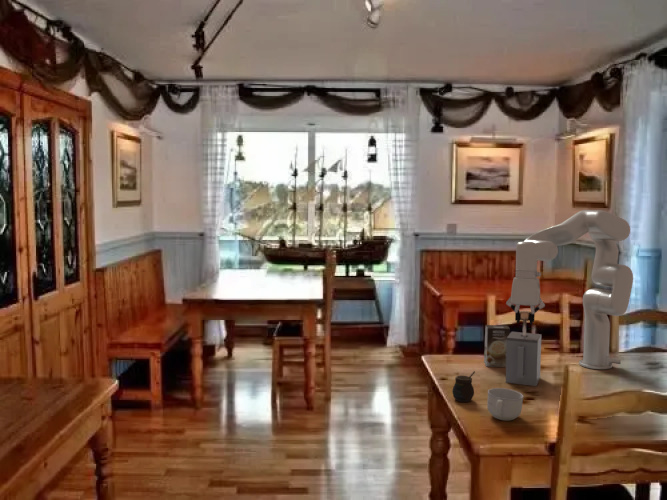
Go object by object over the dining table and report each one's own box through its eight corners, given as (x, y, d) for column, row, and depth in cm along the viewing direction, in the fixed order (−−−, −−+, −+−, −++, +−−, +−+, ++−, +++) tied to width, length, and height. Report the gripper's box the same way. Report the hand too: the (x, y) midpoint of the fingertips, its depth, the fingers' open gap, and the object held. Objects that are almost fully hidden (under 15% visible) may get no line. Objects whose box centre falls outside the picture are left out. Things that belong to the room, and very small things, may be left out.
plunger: (537, 355, 236) (539, 310, 235) (534, 361, 228) (536, 314, 227) (513, 353, 240) (514, 308, 239) (509, 358, 232) (510, 312, 230)
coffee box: (486, 366, 253) (486, 328, 252) (483, 362, 260) (484, 324, 258) (509, 367, 252) (510, 328, 251) (506, 363, 259) (507, 325, 257)
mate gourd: (447, 398, 215) (448, 369, 214) (466, 396, 217) (467, 367, 217) (459, 404, 208) (460, 375, 207) (478, 402, 211) (479, 373, 210)
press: (540, 378, 238) (541, 334, 236) (535, 388, 225) (536, 342, 223) (510, 374, 242) (511, 331, 241) (504, 384, 230) (505, 339, 228)
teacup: (496, 409, 204) (496, 385, 203) (528, 416, 197) (528, 391, 197) (476, 421, 193) (477, 395, 193) (509, 429, 187) (510, 403, 186)
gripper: (550, 274, 231) (549, 323, 233) (504, 272, 238) (503, 319, 240) (548, 277, 224) (547, 327, 226) (501, 274, 231) (500, 323, 233)
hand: (524, 322), depth 233 cm, fingers closed on plunger, 4 cm apart
